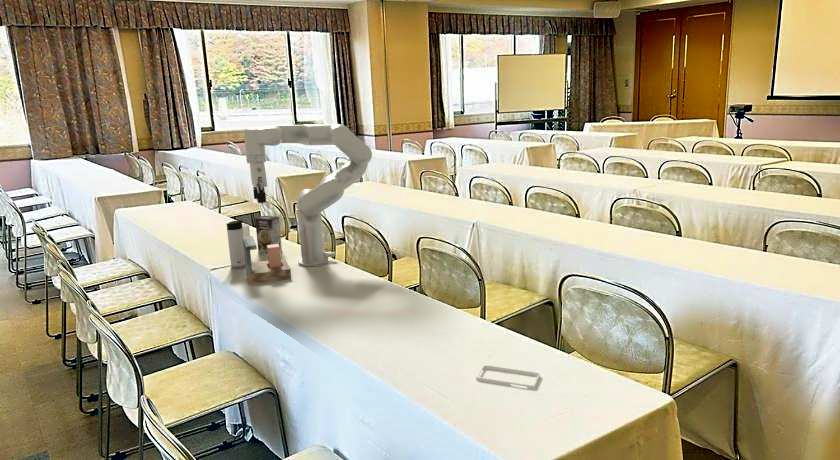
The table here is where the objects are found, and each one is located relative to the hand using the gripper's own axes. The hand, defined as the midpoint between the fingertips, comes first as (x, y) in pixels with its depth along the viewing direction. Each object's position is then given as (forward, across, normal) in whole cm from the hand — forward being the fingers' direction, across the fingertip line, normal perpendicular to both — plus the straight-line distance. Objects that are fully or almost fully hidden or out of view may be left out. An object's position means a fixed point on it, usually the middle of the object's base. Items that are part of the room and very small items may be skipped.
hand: (260, 200), depth 252 cm
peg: (+28, -12, -2) cm, 31 cm away
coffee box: (+29, +24, -6) cm, 38 cm away
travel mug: (+29, +6, +10) cm, 31 cm away
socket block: (+28, -12, +1) cm, 31 cm away
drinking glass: (+29, +18, +6) cm, 34 cm away
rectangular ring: (+29, -130, -38) cm, 139 cm away
